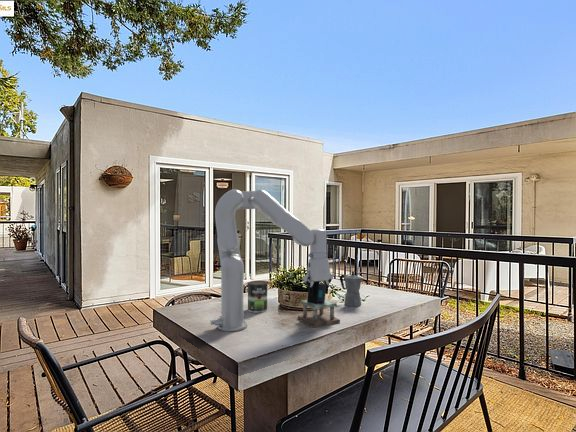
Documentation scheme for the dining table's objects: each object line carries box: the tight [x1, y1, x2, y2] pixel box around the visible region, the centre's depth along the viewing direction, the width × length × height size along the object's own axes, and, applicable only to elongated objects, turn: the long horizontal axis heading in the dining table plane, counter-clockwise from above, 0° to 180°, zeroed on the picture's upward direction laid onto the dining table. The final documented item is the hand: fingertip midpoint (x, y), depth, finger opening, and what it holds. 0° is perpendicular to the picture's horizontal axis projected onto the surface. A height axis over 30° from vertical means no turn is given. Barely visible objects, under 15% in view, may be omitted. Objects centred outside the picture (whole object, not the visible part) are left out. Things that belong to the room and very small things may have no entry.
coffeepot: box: [339, 271, 364, 308], centre depth 188 cm, size 15×9×18 cm, turn 44°
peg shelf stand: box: [297, 298, 341, 328], centre depth 158 cm, size 14×14×9 cm
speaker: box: [306, 281, 326, 304], centre depth 157 cm, size 8×6×10 cm
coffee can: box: [247, 280, 269, 314], centre depth 177 cm, size 10×10×14 cm
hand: (318, 294), depth 158 cm, fingers open, 7 cm apart
